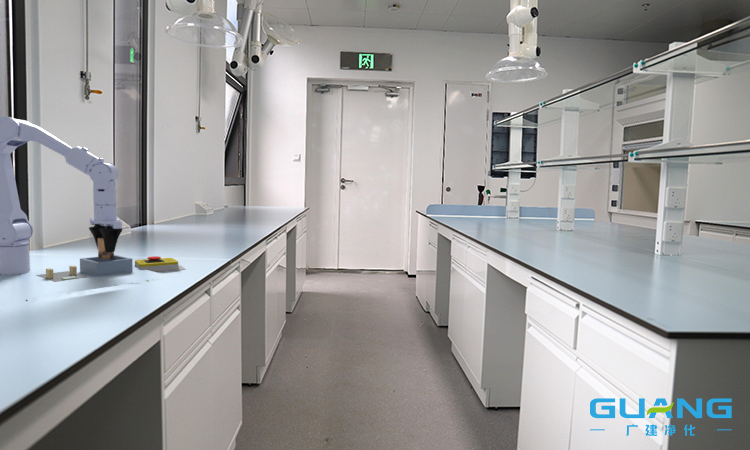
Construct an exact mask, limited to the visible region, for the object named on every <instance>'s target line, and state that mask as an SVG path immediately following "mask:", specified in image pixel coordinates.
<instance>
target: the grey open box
mask: <svg viewBox="0 0 750 450" xmlns="http://www.w3.org/2000/svg"><path fill="white" fill-rule="evenodd" d="M133 266H134V265H133V258H131V257H126V256H122V255H119V254H118V255H117V254H114V258H112V259H98V256H91V257H83V258H79V272H80V273H84V274H86V275H89V276H93V277H104V276H111V275H117V274H118V275H119V274H124V273H130V272H131V273H132V272H133Z"/></svg>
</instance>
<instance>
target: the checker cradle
mask: <svg viewBox="0 0 750 450" xmlns="http://www.w3.org/2000/svg"><path fill="white" fill-rule="evenodd" d="M68 267H69V268H68V269H69V270H67V271H58V272H54V269H53V268H50V267H48V268H45V273H42V274H36V275H35V276H37V277H39V278H42V279H46V280H48V281H51V282H55V283H57V282H65V281H70V280H71V281H72V280H76V279H77V280H79V279H85V278H87V276H85V275H82V274H78V272H77V271H78V269H77V268H78V267H77V266H76V265H69V266H68Z"/></svg>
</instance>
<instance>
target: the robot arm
mask: <svg viewBox="0 0 750 450" xmlns="http://www.w3.org/2000/svg"><path fill="white" fill-rule="evenodd" d="M29 142H36V143H39V144H41V145H42V146H44V147H46V148H48V149H50V150H51V151H52V152H53V151H54V152H55V153H57V154H59V155H61V156H63V157H64V159H65V162H66V164H68V165H69V166H71V167H73V168H74V169H76V170H78V171H80V172H81V173H83V174H85V175H87V176H89V178H90V180H92V183H93V184H92V187H93V188H92V192H93V193H92V194H93V196H92V198H93V217H91V218H89V225H91V226H89V227H88V231H90V232H91V234H92V236H93V238H94V242H95V245H96V249H97V250H98V238H99V237H102V236H103V240H104V246H105V251H106V252H107V253H109V252H114V253H115V250H116V246H117V242H118V240H119V237H120V235H121V234H122V232H123V221H121V219H120V218H117V216H118V215H117V214H118V213H117V189H116V188H117V187H116V185H117V184H116V180H117V179H118V178H119V170H118V168H117V167H116V166H115V165H114V164H113V162H104V160H105V159H104V158H102V157H98V156H96V155H94V154H93V153H91V152H89V149H88V148H86V147H85V146H83V147H81V146H74V147H72V146H71V145H68V144H67V143H65V141H63V140H61V139H59V138H57V136H56V135H53V134H52V133H50V132H48V131H46V130H45V129H43V128H42V127H41V126H38V125H36V124H34V123H31V122H30V121H28V120H25V119H19V118H18V119H17V118H13V117H11V116H6V115H1V116H0V275H8V276H9V275H20V274H25V273H30V271H31V263H30V261H31V260H30V257H31V256H30V241H29V240H30V239H31V238H32V237H33V234H34V227H33V226H32V224H31V222H30V221H29V220H28V216H27V214H26V212H24V211H23V210H22V209H21V204H20V197H19V194H18V187H17V182H16V179H15V172H14V167H13V163H12V157H11V154H12V153H13V152H14V151H15V150H16V149H17V148H18V147H20V146H22V145H25V144H26V143H29Z"/></svg>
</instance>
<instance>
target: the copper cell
mask: <svg viewBox="0 0 750 450" xmlns="http://www.w3.org/2000/svg"><path fill="white" fill-rule="evenodd" d="M114 253H115V251H114V252H109V253H107V252H106V251H105V246H104V240H103V236H102V237H99V238H98V249H97V257H98V259H112V258H114V255H115V254H114Z"/></svg>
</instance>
